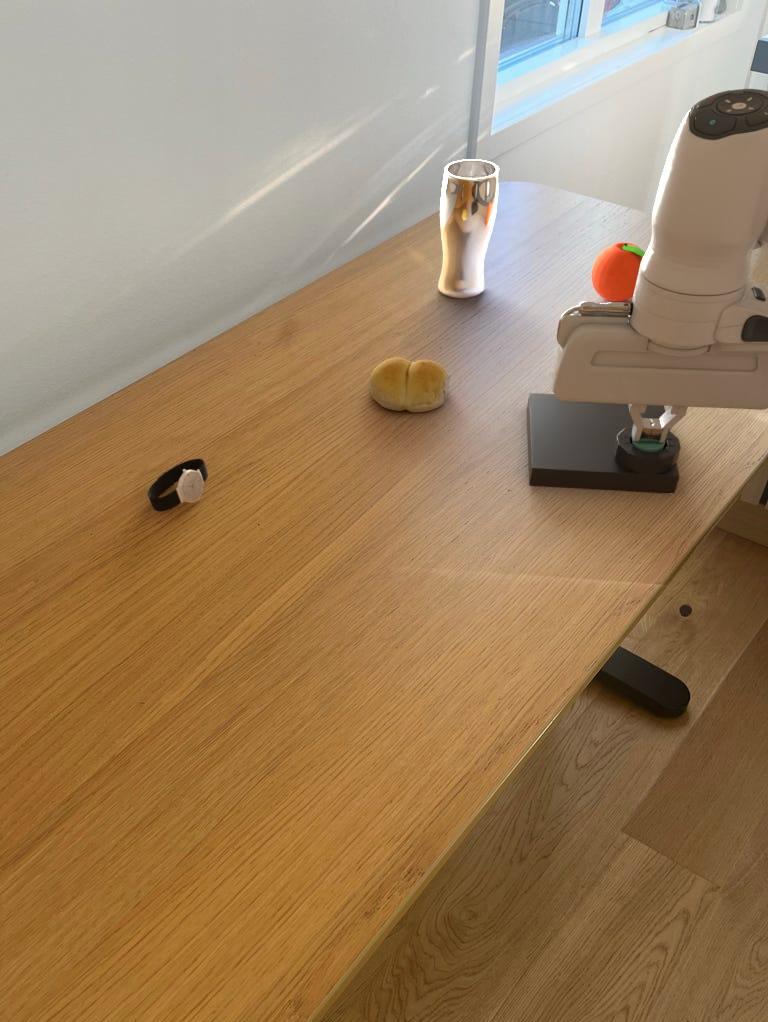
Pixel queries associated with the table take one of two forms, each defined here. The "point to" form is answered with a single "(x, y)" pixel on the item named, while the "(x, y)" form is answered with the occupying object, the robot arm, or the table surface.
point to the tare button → (649, 446)
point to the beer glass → (466, 225)
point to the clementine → (617, 271)
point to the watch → (179, 485)
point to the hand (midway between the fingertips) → (647, 439)
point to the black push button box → (595, 448)
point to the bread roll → (409, 384)
